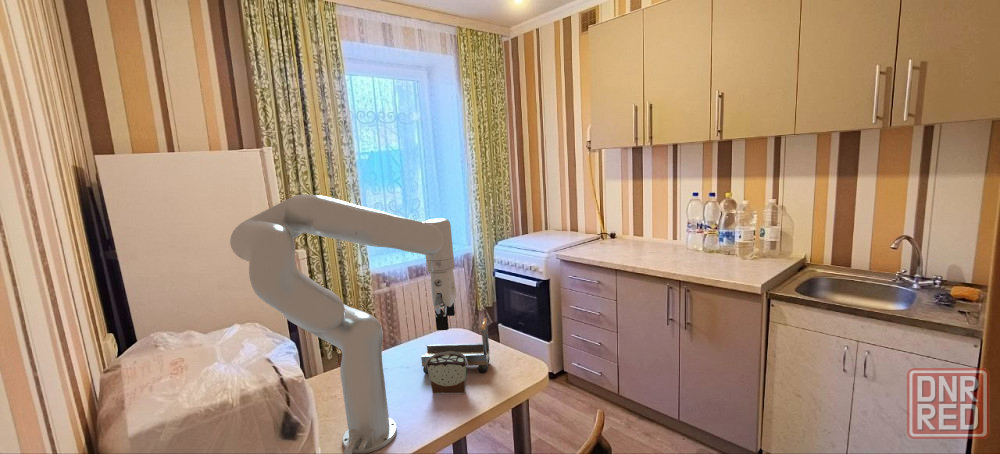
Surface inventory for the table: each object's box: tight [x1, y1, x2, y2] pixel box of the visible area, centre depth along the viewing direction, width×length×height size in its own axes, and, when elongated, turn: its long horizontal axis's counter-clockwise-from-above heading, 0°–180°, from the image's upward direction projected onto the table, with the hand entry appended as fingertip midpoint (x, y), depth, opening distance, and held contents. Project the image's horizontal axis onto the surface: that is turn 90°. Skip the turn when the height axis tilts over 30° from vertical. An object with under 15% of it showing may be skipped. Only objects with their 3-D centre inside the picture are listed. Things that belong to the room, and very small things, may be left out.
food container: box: [425, 351, 469, 395], centre depth 121 cm, size 12×6×10 cm, turn 84°
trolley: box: [420, 317, 491, 375], centre depth 132 cm, size 8×20×15 cm, turn 86°
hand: (446, 322), depth 119 cm, fingers open, 9 cm apart
